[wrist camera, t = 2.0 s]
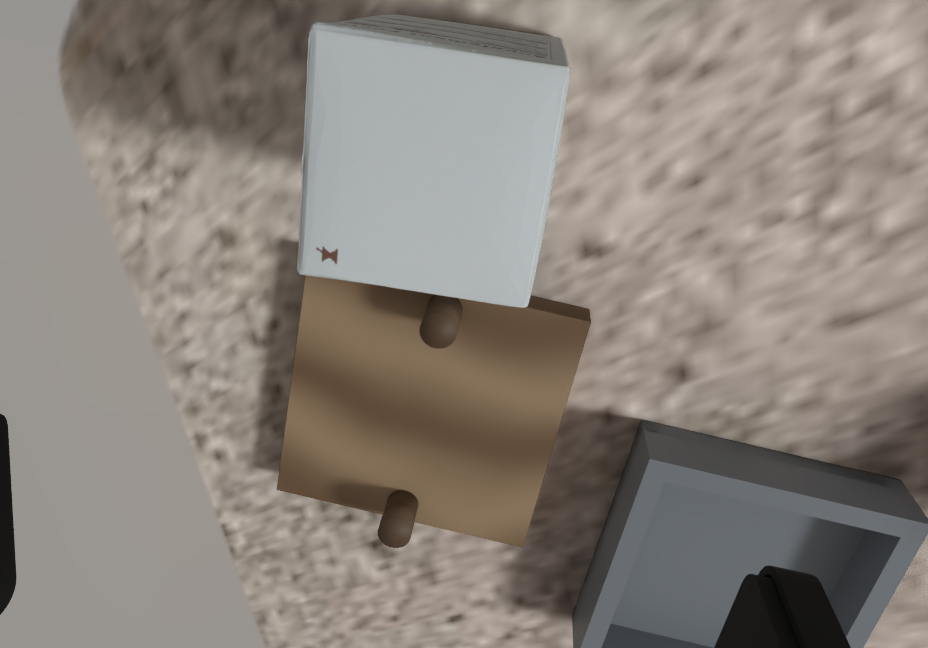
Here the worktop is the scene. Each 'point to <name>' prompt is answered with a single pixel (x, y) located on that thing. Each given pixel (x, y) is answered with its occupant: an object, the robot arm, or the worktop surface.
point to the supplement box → (429, 155)
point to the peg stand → (427, 406)
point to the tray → (737, 539)
